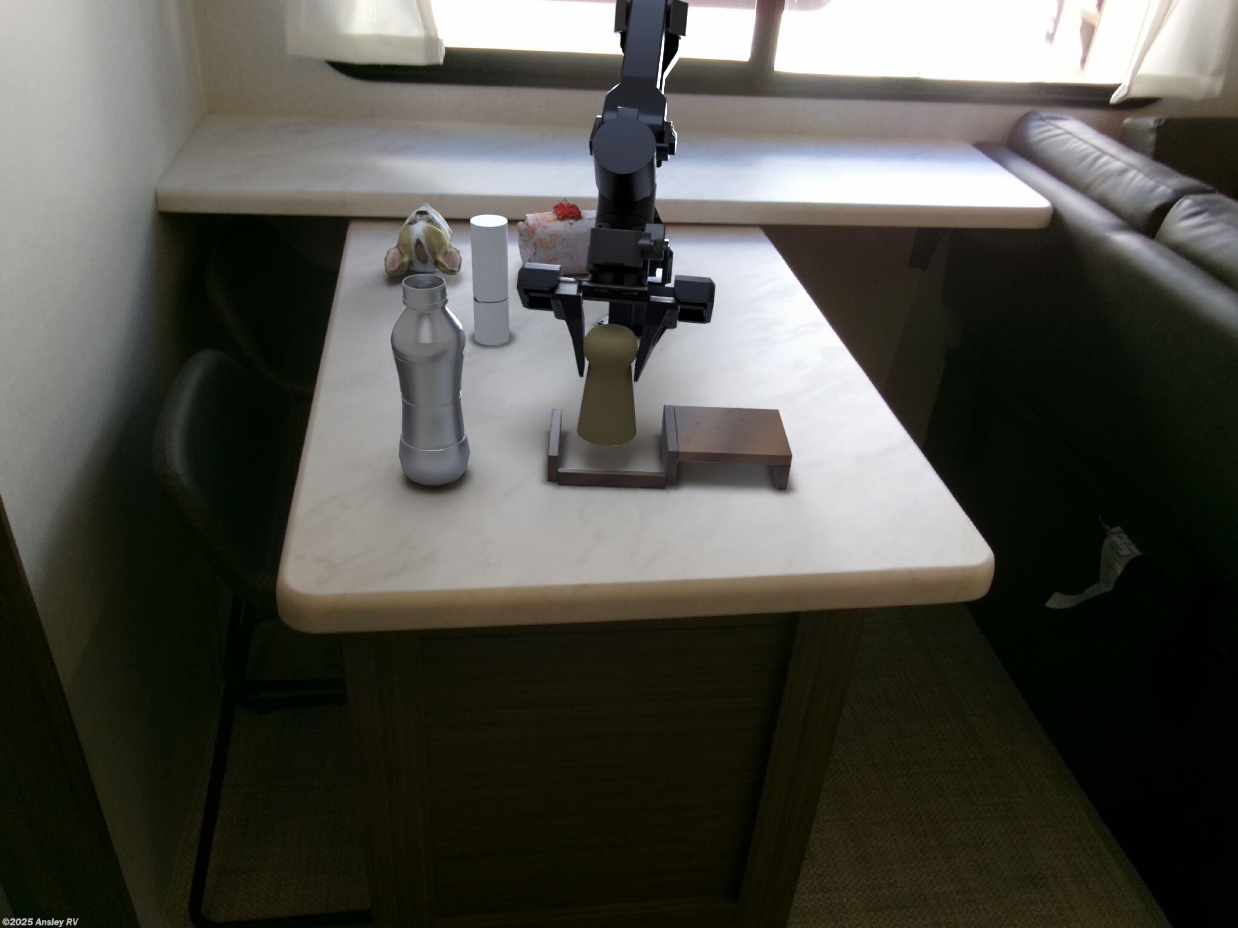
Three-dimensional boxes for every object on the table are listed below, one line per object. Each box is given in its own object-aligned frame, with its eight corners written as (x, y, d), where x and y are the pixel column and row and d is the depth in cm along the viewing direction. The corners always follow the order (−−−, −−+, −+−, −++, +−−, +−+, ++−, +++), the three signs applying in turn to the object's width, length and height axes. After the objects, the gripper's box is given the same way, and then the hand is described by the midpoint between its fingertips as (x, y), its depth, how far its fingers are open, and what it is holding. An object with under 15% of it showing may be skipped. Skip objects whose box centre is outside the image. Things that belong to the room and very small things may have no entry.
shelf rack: (547, 484, 92) (547, 449, 90) (552, 433, 100) (552, 400, 98) (787, 492, 93) (793, 458, 91) (773, 441, 101) (778, 409, 99)
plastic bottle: (404, 457, 95) (387, 267, 84) (472, 457, 95) (465, 268, 84) (397, 494, 89) (378, 296, 78) (469, 494, 90) (461, 297, 79)
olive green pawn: (630, 450, 92) (637, 348, 86) (570, 441, 93) (572, 339, 87) (641, 419, 97) (648, 320, 91) (584, 411, 98) (587, 312, 92)
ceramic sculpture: (461, 192, 139) (458, 233, 127) (464, 248, 144) (462, 292, 132) (387, 192, 137) (377, 233, 125) (393, 248, 142) (384, 293, 130)
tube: (515, 335, 120) (514, 219, 111) (498, 348, 116) (495, 229, 108) (486, 328, 121) (482, 212, 113) (468, 340, 118) (463, 222, 110)
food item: (525, 282, 134) (524, 214, 129) (516, 261, 141) (515, 196, 135) (618, 277, 137) (621, 210, 132) (605, 257, 144) (608, 193, 139)
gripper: (518, 178, 86) (497, 342, 83) (725, 194, 85) (711, 360, 82) (533, 232, 97) (515, 379, 93) (716, 247, 96) (704, 395, 93)
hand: (607, 378), depth 90 cm, fingers closed on olive green pawn, 5 cm apart
